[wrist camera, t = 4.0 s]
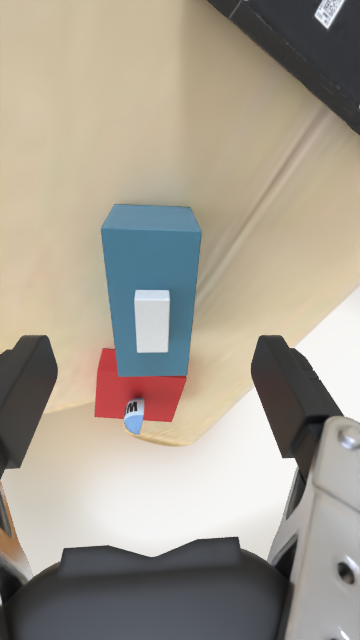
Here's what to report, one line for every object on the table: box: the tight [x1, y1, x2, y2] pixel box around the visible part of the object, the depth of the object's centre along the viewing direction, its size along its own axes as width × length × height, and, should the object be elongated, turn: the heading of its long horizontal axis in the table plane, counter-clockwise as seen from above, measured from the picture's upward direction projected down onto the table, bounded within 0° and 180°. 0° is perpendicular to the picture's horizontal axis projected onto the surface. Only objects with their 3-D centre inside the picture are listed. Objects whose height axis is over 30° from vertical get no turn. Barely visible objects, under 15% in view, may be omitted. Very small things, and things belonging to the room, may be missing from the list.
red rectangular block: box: [95, 349, 186, 435], centre depth 25 cm, size 8×7×6 cm
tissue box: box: [101, 204, 201, 377], centre depth 18 cm, size 5×11×7 cm, turn 177°
